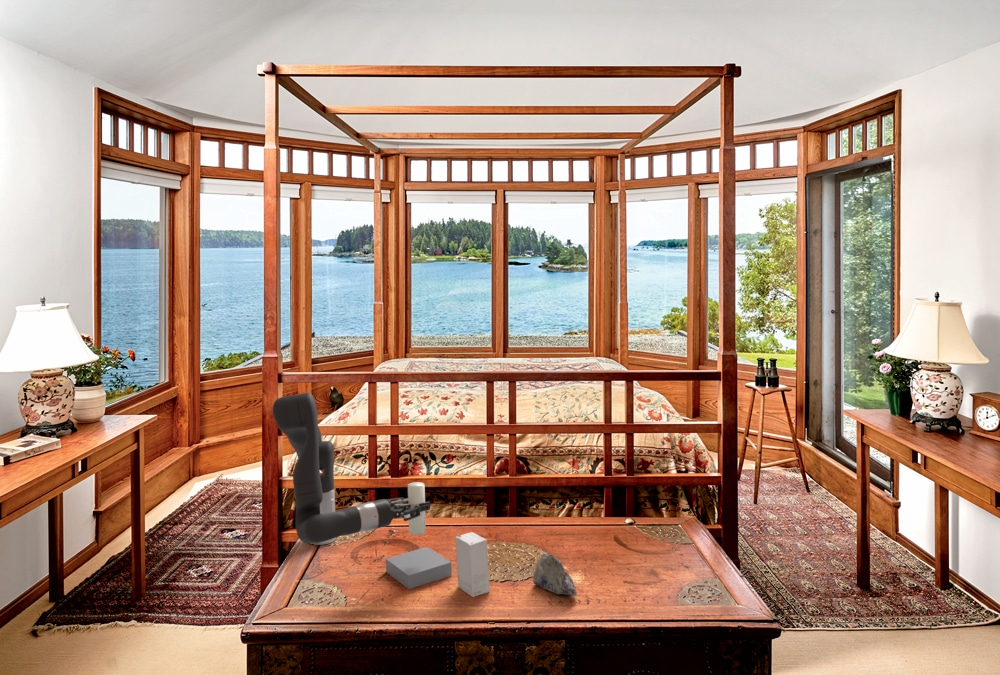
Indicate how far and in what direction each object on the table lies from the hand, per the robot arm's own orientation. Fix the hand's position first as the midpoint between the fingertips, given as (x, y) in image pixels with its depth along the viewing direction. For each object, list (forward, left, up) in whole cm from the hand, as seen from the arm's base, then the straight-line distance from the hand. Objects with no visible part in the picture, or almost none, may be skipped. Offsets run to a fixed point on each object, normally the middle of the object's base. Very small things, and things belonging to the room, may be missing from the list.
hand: (424, 503), depth 191 cm
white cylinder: (0, -3, -8) cm, 8 cm away
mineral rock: (+33, +21, -21) cm, 44 cm away
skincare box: (+18, +4, -21) cm, 28 cm away
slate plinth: (0, -3, -21) cm, 21 cm away
